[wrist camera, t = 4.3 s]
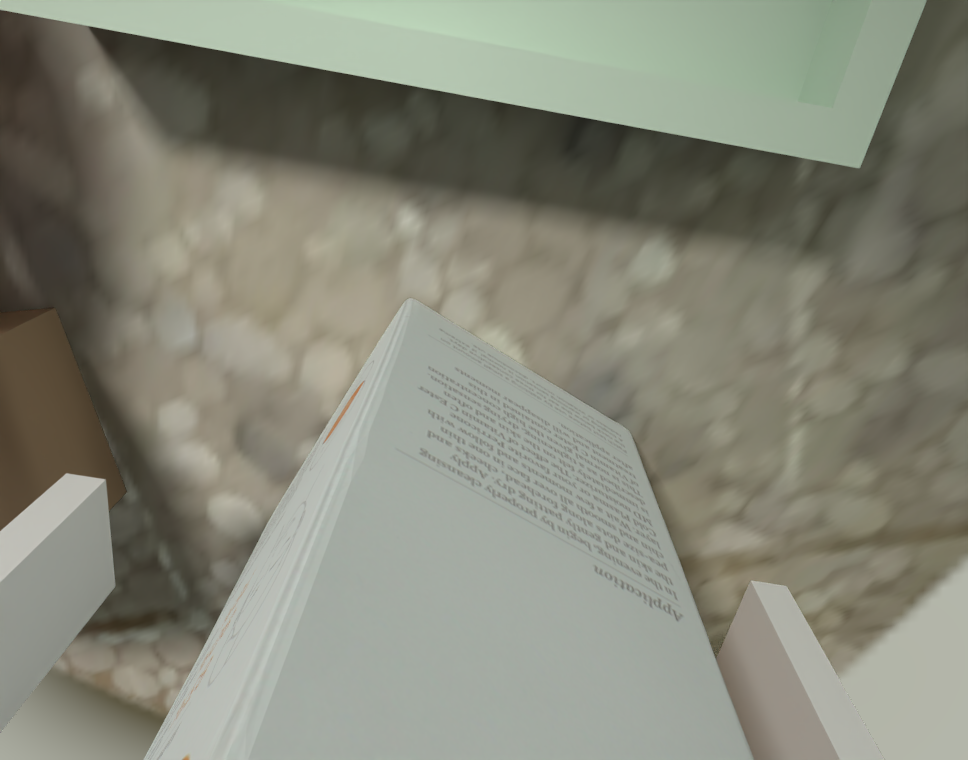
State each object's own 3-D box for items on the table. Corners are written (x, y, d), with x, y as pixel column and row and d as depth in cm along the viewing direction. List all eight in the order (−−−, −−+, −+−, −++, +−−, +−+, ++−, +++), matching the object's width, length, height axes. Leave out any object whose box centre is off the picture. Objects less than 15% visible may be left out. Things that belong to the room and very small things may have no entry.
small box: (461, 633, 18) (382, 1634, 6) (258, 532, 17) (-303, 1554, 5) (640, 426, 15) (1094, 1579, 4) (411, 285, 14) (-89, 1359, 2)
